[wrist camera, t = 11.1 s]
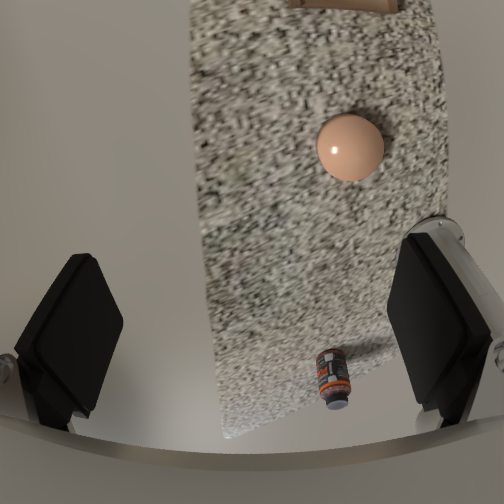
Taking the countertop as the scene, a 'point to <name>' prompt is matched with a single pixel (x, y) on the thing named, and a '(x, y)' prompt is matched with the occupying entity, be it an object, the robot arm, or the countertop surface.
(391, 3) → the brown flat square block
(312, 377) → the countertop surface
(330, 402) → the supplement bottle
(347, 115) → the peach smooth rounded part
